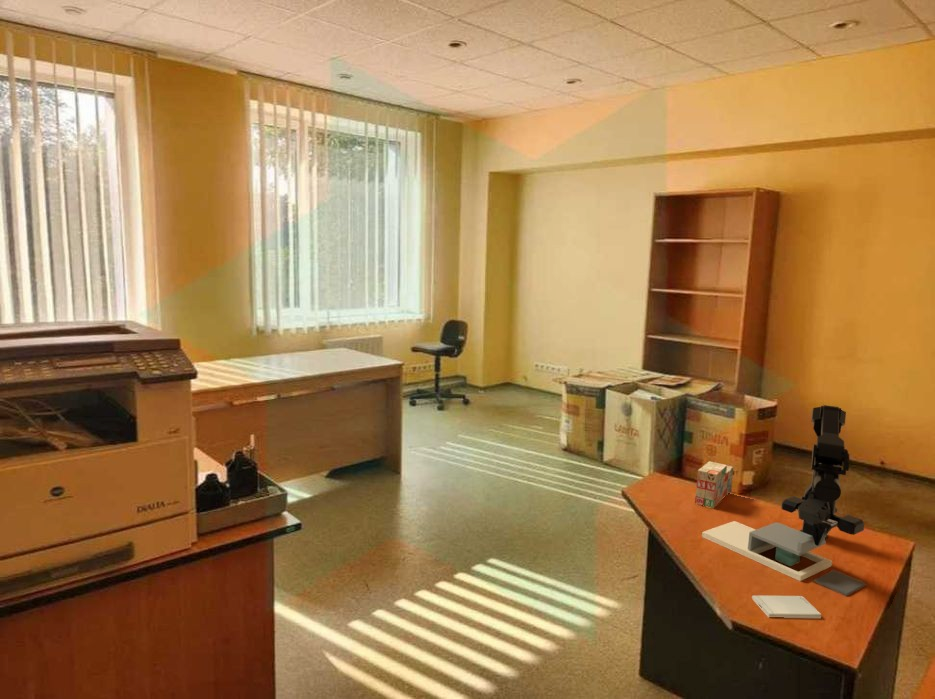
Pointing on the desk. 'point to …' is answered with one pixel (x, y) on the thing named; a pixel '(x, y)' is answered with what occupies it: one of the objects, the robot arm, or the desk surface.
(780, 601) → the hard drive
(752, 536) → the cover
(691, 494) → the desk surface
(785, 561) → the block
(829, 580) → the mat
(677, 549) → the desk surface
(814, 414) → the robot arm
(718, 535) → the white flat frame
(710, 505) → the stack of blocks
